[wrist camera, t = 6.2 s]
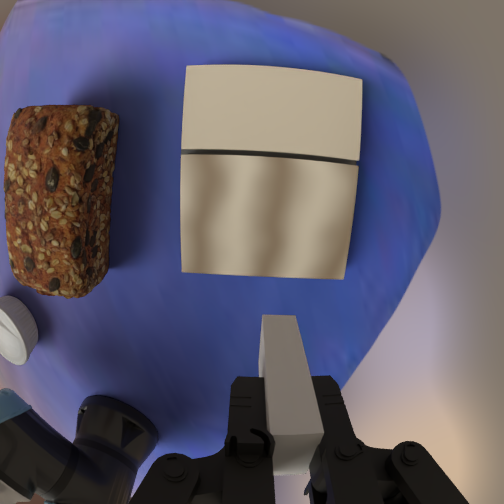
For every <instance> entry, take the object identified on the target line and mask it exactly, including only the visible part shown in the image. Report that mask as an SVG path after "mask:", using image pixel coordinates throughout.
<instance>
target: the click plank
mask: <svg viewBox="0 0 504 504" xmlns="http://www.w3.org/2000/svg"><path fill="white" fill-rule="evenodd" d="M358 168H359V166H355V165H348V164H340V163H332V162H323V161H313V160H303V159H292V158H279V157H263V156H243V155H201V154H187V155H181V182H180V222H181V262H182V272H188V273H205V274H223V275H243V276H264V277H287V278H314V279H344V274H345V268H346V262H347V256H348V250H349V244H350V237H351V230H352V222H353V215H354V207H355V198H356V189H357V179H358Z"/></svg>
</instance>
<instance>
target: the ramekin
mask: <svg viewBox="0 0 504 504" xmlns="http://www.w3.org/2000/svg"><path fill="white" fill-rule="evenodd" d="M37 342H38V329H37V325H36V322H35V320H34V318H33V316H32V314H31V312H30V311H29V309H28V308H27V307H26V306H25V305H24V304H23V303H22V302H21V301H20V300H19V299H17V298H15V297H12V296H3V297H0V354H1V355H2V356H3V357H5V358H6V359H7V360H9V361H10V362H12V363H13V364H16V365H23V364H25V363H26V362H27V361H28V359H29V356H30V354H31V352H32V351H33V349H34V347H35V346H36V344H37Z"/></svg>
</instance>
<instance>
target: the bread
mask: <svg viewBox="0 0 504 504" xmlns="http://www.w3.org/2000/svg"><path fill="white" fill-rule="evenodd" d="M118 125H119V115H117V114H115V113H112V112H110V111H109V109H105V108H102V107H93V106H91V105H43V106H28V107H26V108H23V109H21V108H19V109H18V110H17V111H16V113H14V114H13V117H12V120H11V124H10V127H9V131H8V136H7V138H6V146H7V148H6V157H5V166H4V171H5V175H4V192H5V219H6V235H7V245H8V252H9V260H10V265H11V269H12V272H13V274H14V276H15V278H16V279H17V280H18V281H19V282H20V283H21V284H22V285H23V286H29V287H31V288H35V289H36V291H37V293H39V294H42V295H48V296H55V295H58V296H64V297H65V298H67V299H69V298H72V297H75V298H80V297H83V296H85V295H87V294H88V293H90V292H91V291H92V290H93V288H94V287H95V286H96V285H98V284H99V283H101V281H102V280H103V278H104V276H105V275H106V273H107V272H108V267H109V240H110V236H109V229H110V221H111V218H110V213H111V209H110V206H111V196H112V185H113V177H112V173H113V171H114V169H115V157H116V150H117V139H118Z"/></svg>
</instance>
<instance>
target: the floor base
mask: <svg viewBox="0 0 504 504" xmlns="http://www.w3.org/2000/svg"><path fill="white" fill-rule="evenodd" d="M361 119H362V79H358V78H353V77H348V76H343V75H337V74H331V73H325V72H319V71H311V70H304V69H295V68H285V67H273V66H257V65H193V66H187V68H186V79H185V91H184V105H183V122H182V143H181V155H187V154H201V155H243V156H263V157H279V158H292V159H303V160H313V161H323V162H332V163H340V164H348V165H355V166H356V161H359V155H360V140H361Z"/></svg>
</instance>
